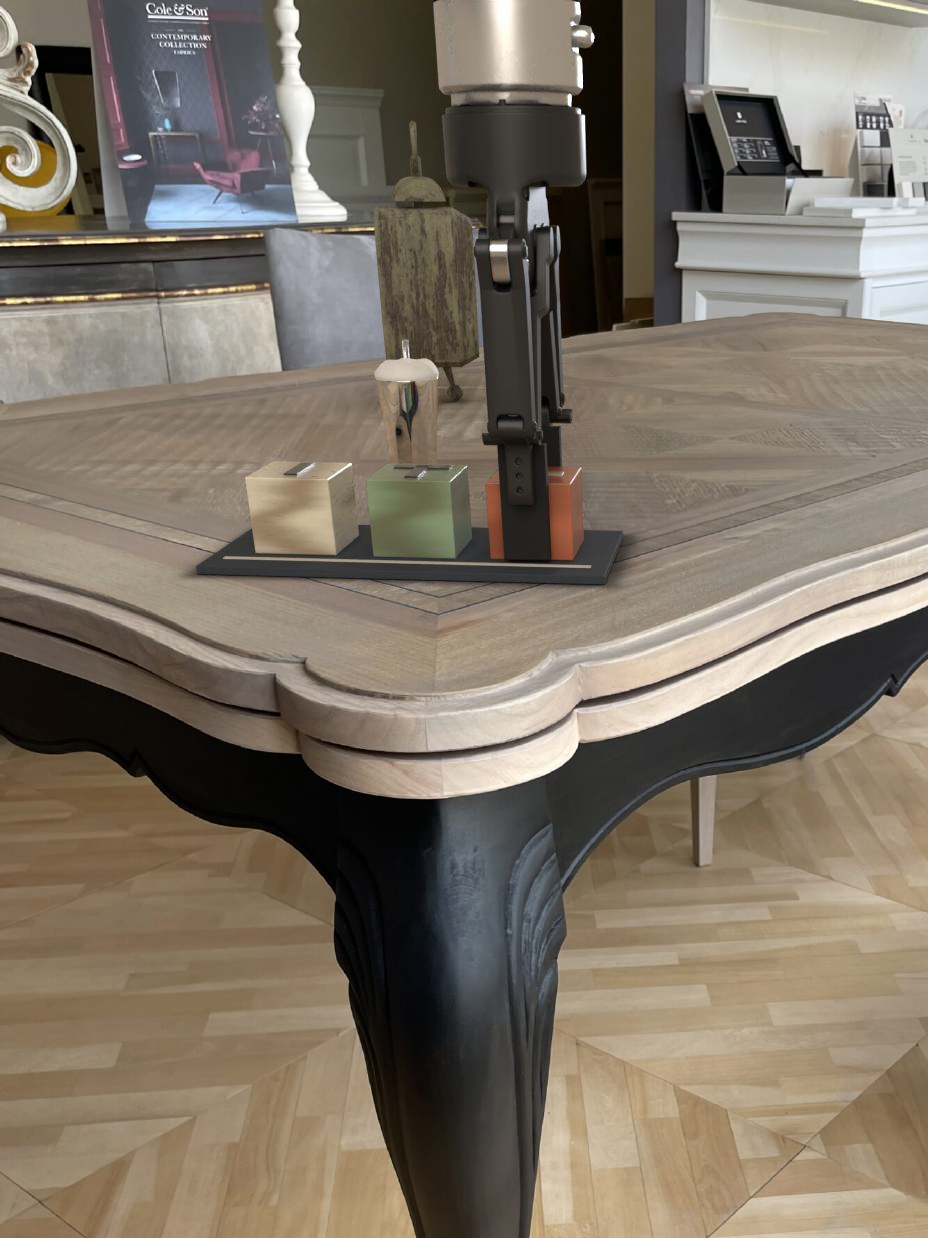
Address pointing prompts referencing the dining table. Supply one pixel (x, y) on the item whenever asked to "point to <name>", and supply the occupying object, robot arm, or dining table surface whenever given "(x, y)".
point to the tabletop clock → (427, 276)
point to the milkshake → (409, 408)
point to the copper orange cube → (562, 513)
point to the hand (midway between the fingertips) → (535, 545)
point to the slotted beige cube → (302, 507)
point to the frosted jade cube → (419, 510)
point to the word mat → (421, 562)
